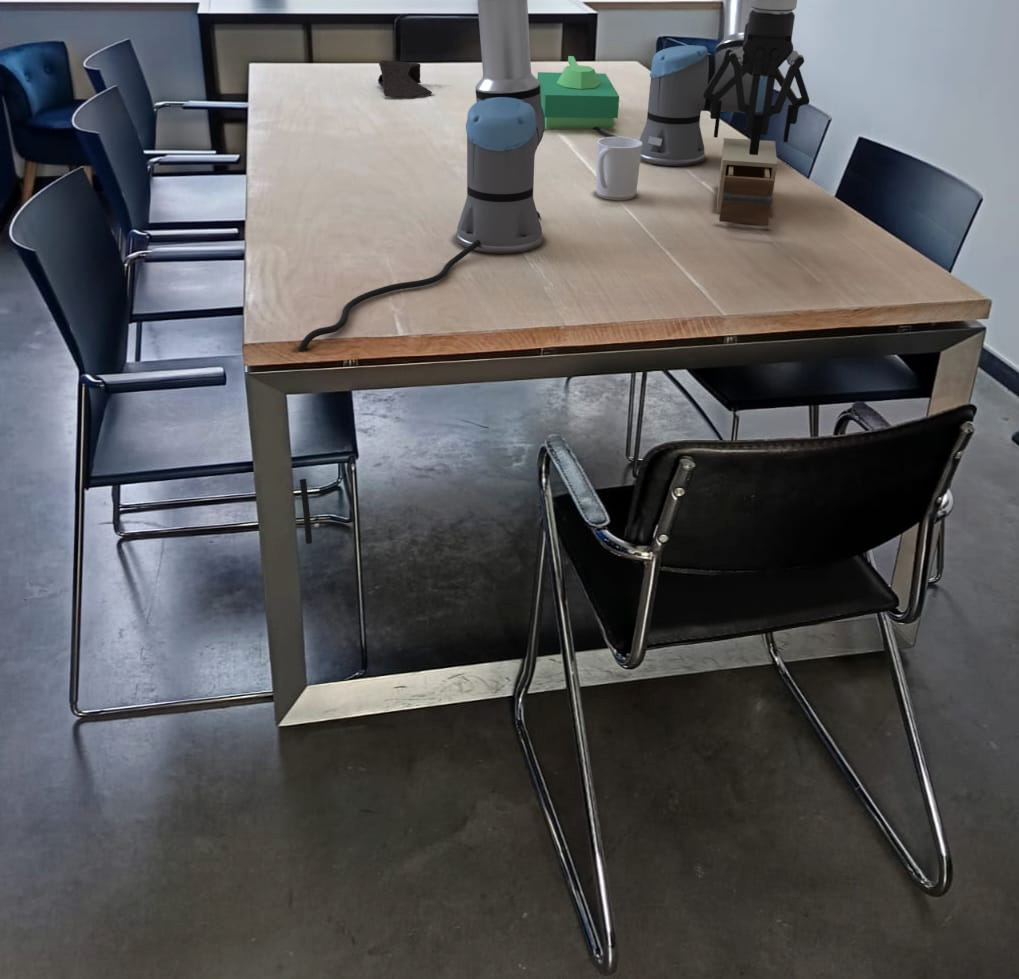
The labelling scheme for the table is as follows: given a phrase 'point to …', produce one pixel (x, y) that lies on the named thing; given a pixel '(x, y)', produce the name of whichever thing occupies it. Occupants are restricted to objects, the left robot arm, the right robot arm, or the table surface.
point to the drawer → (747, 195)
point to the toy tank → (578, 98)
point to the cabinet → (745, 160)
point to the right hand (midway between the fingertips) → (750, 138)
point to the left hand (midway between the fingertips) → (753, 152)
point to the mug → (617, 167)
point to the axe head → (401, 79)
